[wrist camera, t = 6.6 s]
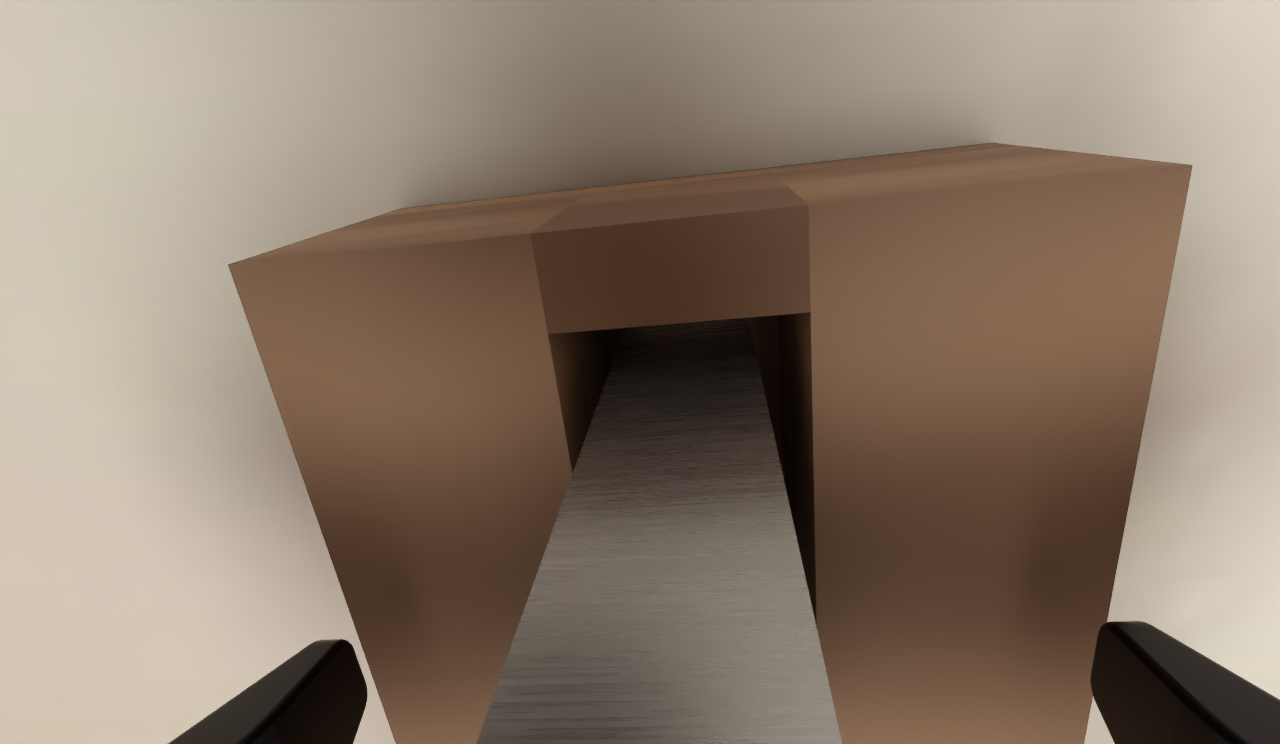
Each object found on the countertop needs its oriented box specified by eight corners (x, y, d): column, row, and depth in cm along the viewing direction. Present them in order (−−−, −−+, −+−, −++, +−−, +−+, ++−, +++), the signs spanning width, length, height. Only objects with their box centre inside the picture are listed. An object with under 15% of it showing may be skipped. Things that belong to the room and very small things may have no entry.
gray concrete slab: (760, 563, 14) (876, 1464, 5) (667, 567, 14) (604, 1429, 5) (742, 292, 12) (893, 969, 2) (633, 303, 12) (400, 955, 3)
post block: (956, 598, 15) (1070, 815, 10) (499, 611, 16) (418, 809, 12) (992, 142, 11) (1193, 164, 7) (400, 209, 13) (228, 264, 8)
